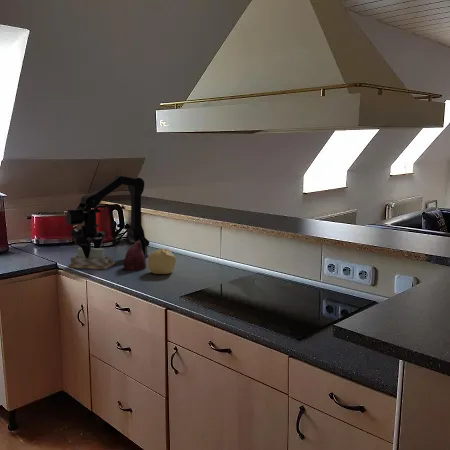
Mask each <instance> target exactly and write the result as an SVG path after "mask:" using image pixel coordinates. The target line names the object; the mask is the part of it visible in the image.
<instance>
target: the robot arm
mask: <svg viewBox="0 0 450 450" xmlns="http://www.w3.org/2000/svg"><path fill="white" fill-rule="evenodd" d="M122 185H123V186H127V189H128V193H129V194H130V216H131V217H130V220H131V221H130V223H131V225H130V227H129V228H127V229H126V233H127V234H126V237H127V239H128V241H130V244H131V246H132V245H133V244H134V243H135V242H136V241H138V240H140V242H141V247H142V251H143V253H144V255H145V259H147V258H149V257H150V255H149V254H148V247H149V245H150V241H149V240H148V239H147V238H146V235H145V231H144V228H143V226H142V194H143V193H144V189H145V180H144V179H143V178H141V177H134V176H133V177H128V176H125V175H120V174H119V175H116V176H115V177H114V178H112V179H111V180H110V181H108V182H106V183H105V184H104V185H102V186H101V187H100V188H99V189H97V190H95V191H92V192H89V193H86V194H85V195H83V196H82V197H81V199H80V203H79V204H78V206H77V207H76V209H67V212H66V215H65V221H66V224H67V225H68V226H71V225H73V226H75V225H81V228H80V229H77V228H74V229H73V228H72V229H71V230H70V231H71V232H70V233H71V234H70V236H71V237H72V238H73V239H75V241H74V242H75V245H77V246H79V248H82V250H83V252H84V255H85V257H86V258H87V259H88V258H89V255H90V250H91V248H100V249H101V246H102V244H103V242H104V240H105V238H106V232H105V231H99V230H98V227H99V223H98V220H97V214H98V213H102V211H101V210H100V209H99V208H98V207H97V206H98V205H100V204H101V203H102V201H103V199H104V198H105V197H106V196H108V195H109V194H111V193H112V192H114V191H115V190H117V188H119V187H120V186H122ZM92 243H93V244H92Z"/></svg>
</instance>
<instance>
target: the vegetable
mask: <svg viewBox="0 0 450 450" xmlns="http://www.w3.org/2000/svg"><path fill="white" fill-rule="evenodd" d="M146 259H147V258H145V255H144V253H143V251H142V247H141V242H140V240H138V241H136V242H135V243H134V244H133V245H132V244H131V246H130V247H129V248H128V250H127V252H126V254H125V258H124V262H123V269H124V270H126V271H130V272H133V271H137V272H138V271H142V270H145V269H146V268H147V262H146Z"/></svg>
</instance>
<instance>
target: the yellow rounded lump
mask: <svg viewBox="0 0 450 450" xmlns="http://www.w3.org/2000/svg"><path fill="white" fill-rule="evenodd" d="M176 262H177V259H176V256H175V255H174V253H173V252H172V251H170V250H169V249H168V248H165V249H164V248H158V249H157V250H155V251H153V252H152V253H151V254H150V255H149V256H148V260H147V265H148V269H149V271H150V272H151V273H152V274H155V275H168V274H171V273H172V272H173V271H174V270H175V265H176Z"/></svg>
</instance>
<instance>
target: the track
mask: <svg viewBox="0 0 450 450" xmlns="http://www.w3.org/2000/svg"><path fill="white" fill-rule="evenodd" d="M115 264H116V263H115V261H114V256H105V259H99V258H88V259H87V258H79V257H78V254H76V255H75V256H71V257H70V264H68V268H72V269H73V268H75V269H92V270H93V269H96V270H107V269H108V268H111V267H112V266H114V265H115Z"/></svg>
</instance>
